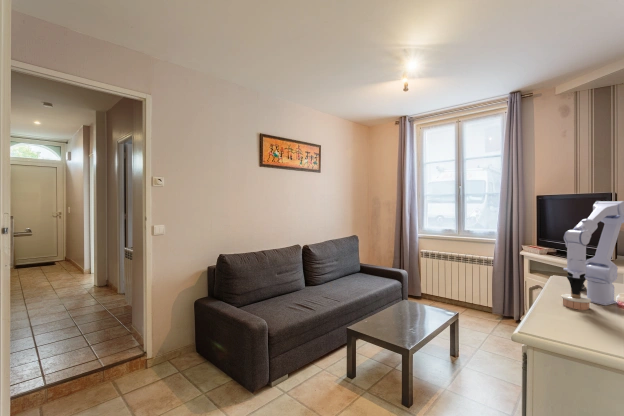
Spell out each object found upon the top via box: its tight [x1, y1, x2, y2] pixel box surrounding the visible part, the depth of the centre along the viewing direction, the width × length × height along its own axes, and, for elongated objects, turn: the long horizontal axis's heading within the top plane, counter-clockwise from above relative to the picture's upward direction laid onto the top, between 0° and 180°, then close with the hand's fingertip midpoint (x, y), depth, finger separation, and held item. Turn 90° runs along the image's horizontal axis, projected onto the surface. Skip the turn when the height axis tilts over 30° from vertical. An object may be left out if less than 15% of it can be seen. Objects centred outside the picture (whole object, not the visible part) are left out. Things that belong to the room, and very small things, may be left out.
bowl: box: [562, 298, 590, 311], centre depth 120 cm, size 8×8×3 cm
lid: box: [560, 289, 592, 304], centre depth 120 cm, size 9×9×4 cm
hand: (575, 292), depth 120 cm, fingers open, 7 cm apart
